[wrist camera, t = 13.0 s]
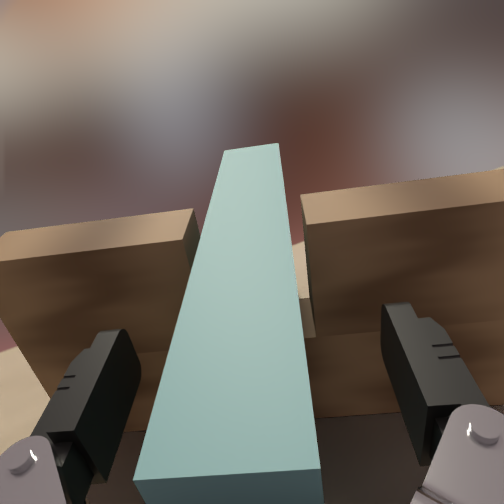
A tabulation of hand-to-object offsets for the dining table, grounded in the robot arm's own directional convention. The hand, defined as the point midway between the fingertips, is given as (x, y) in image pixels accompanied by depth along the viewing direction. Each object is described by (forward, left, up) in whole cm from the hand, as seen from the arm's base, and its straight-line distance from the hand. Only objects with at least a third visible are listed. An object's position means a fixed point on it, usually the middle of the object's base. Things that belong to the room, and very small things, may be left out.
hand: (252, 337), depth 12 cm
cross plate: (0, +3, -7) cm, 8 cm away
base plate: (0, +4, -7) cm, 8 cm away
